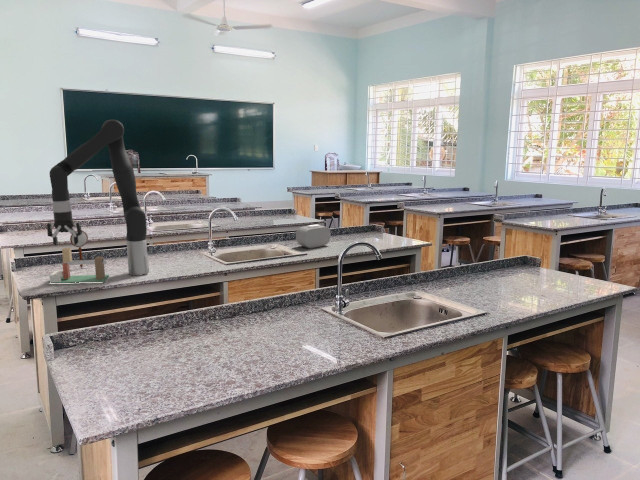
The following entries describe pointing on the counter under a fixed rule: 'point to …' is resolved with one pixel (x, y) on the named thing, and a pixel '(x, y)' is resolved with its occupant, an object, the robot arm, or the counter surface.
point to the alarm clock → (313, 236)
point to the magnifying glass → (80, 243)
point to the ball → (60, 274)
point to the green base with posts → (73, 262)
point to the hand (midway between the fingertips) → (66, 244)
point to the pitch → (98, 277)
